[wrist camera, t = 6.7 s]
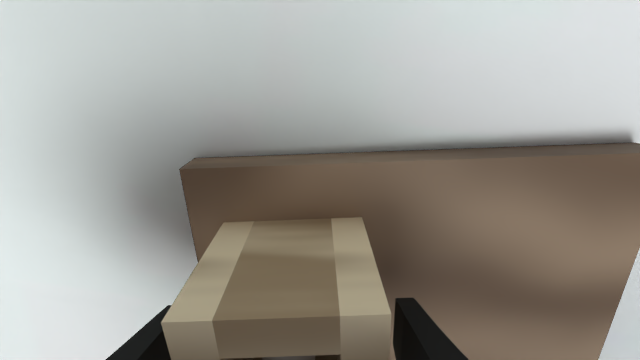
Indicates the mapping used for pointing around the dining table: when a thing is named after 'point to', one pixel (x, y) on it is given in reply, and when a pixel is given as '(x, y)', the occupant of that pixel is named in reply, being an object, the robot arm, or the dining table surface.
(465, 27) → the dining table surface
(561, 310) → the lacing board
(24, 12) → the dining table surface
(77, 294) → the dining table surface
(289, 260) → the open-ended tan box
